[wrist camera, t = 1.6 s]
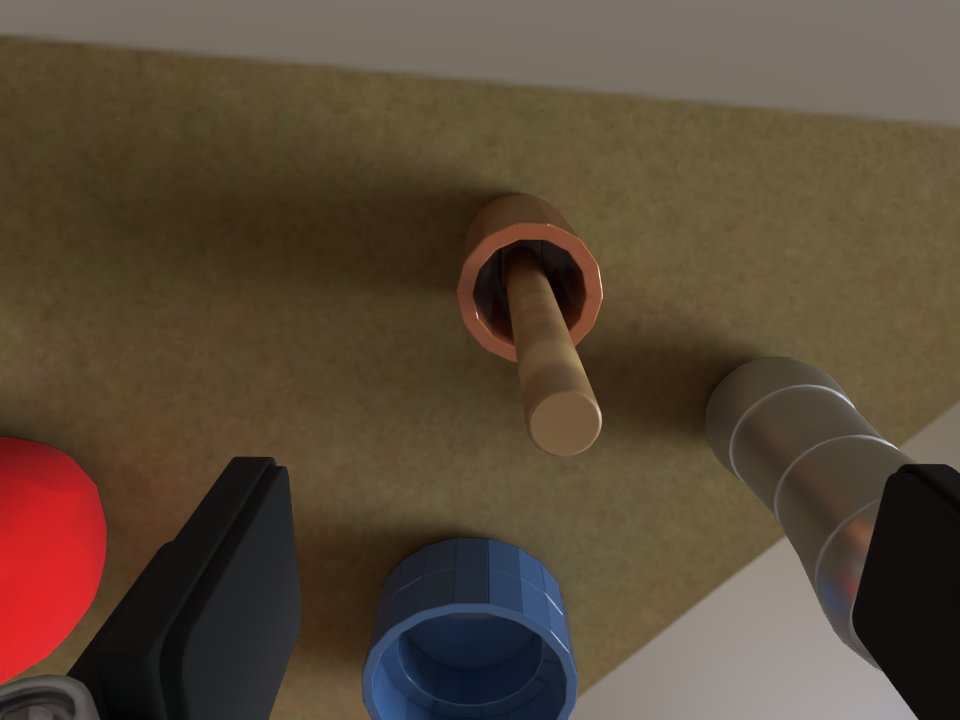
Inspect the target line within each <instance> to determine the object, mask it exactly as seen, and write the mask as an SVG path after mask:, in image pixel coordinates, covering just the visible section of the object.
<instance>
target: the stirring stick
mask: <svg viewBox="0 0 960 720" xmlns="http://www.w3.org/2000/svg"><path fill="white" fill-rule="evenodd" d="M542 248H543V240H517V241H515V242H513V243H510V244H508V245H506V246H504V247H502V248H499V279H500V286H501V287H502V288H507V295H508V302H509V309H510V316H511V323H512V330H513V337H514V343H515V350H516V357H517V364H518V371H519V378H520V385H521V392H522V398H523V405H524V412H525V419H526V426H527V431H528V434H529V436H530V438H531V440H532V441H533V443H534V444H535V445H536V446H537V447H538V448H540V449H541V450H543V451H544V452H546V453H549V454H552V455H556V456H570V455H574V454H577V453H580V452H582V451H584V450H585V449H587V448H588V447H589V446H590V445H591V444H592V443H593V442H594V441H595V440H596V438H597V436H598V435H599V432H600V430H601V425H602V415H601V411H600V408H599V406H598V403H597V401H596V398H595V396H594V393H593V391H592V388H591V386H590V383H589V381H588V378H587V376H586V373H585V371H584V368H583V366H582V364H581V361H580V359H579V356H578V354H577V351H576V349H575V346H574V344H573V341H572V339H571V336H570V334H569V331H568V329H567V326H566V324H565V321H564V319H563V317H562V314H561V312H560V309H559V307H558V304H557V302H556V299H555V297H554V294H553V292H552V289H551V287H550V284H549V282H548V279H547V277H546V274H545V272H544V269H543V267H542Z"/></svg>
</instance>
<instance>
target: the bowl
mask: <svg viewBox="0 0 960 720" xmlns="http://www.w3.org/2000/svg"><path fill="white" fill-rule="evenodd" d="M577 684H578V676H577V670H576V664H575V658H574V652H573V646H572V641H571V635H570V629H569V623H568V617H567V611H566V606H565V603H564V600H563V596H562V593H561V590H560V587H559V584H558V582H557V581H556V580H555V579H554V577H553V576H552V575H551V574H550V572H549V571H548V570H547V569H546V568H545V566H544V565H543V564H542V563H541V562H540V561H538V560H537V559H535V558H534V557H532V556H531V555H529V554H527V553H526V552H524V551H523V550H521V549H520V548H518V547H516V546H513V545H510V544H506V543H503V542H499V541H496V540H492V539H489V538H488V539H487V538H454V539H450V540H446V541H442V542H439V543H435V544H431V545H428V546H426V547H424V548H422V549H421V550H419V551H417V552H416V553H414V554H412V555H411V556H409V557H407V558H406V559H404V560H403V561H401V562H400V564H399V565H398V566H397V567H396V568H395V569H394V571H393V572H392V573H391V574H390V575H389V576H388V578H387V579H386V580H385V582H384V585H383V588H382V590H381V593H380V596H379V599H378V602H377V605H376V610H375V615H374V619H373V624H372V629H371V633H370V638H369V642H368V647H367V652H366V656H365V661H364V666H363V670H362V693H363V702H364V704H365V706H366V708H367V711H368V713H369V715H370V717H371V719H372V720H568V718H569V716H570V714H571V712H572V710H573V709H574V707H575V704H576V696H577Z"/></svg>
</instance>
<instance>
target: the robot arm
mask: <svg viewBox="0 0 960 720" xmlns="http://www.w3.org/2000/svg"><path fill="white" fill-rule="evenodd" d="M300 622H301V599H300V589H299V578H298V568H297V557H296V547H295V537H294V526H293V516H292V505H291V495H290V485H289V475H288V471H287V468H286V467H285V466H277V465H276V462H275V459H274V458H273V457H234V458H233V459H232V460H231V461H230V463H229V464H228V465H227V467H226V468H225V470H224V471H223V472H222V474H221V475H220V476H219V478H218V479H217V481H216V482H215V483H214V485H213V486H212V488H211V489H210V490H209V492H208V493H207V495H206V496H205V497H204V499H203V500H202V502H201V503H200V504H199V506H198V507H197V508H196V510H195V511H194V513H193V514H192V515H191V517H190V518H189V520H188V521H187V522H186V524H185V525H184V527H183V528H182V529H181V531H180V532H179V534H178V535H177V536H176V538H175V539H174V540H173V541H171V542H168V543H165V544H164V545H163V546H162V547H161V548H160V549H159V550H158V551H157V553H156V554H155V555H154V557H153V558H152V560H151V561H150V562H149V564H148V565H147V566H146V568H145V569H144V570H143V572H142V573H141V574H140V576H139V577H138V579H137V580H136V581H135V583H134V584H133V585H132V587H131V588H130V589H129V591H128V592H127V593H126V595H125V596H124V598H123V599H122V600H121V602H120V603H119V604H118V606H117V607H116V608H115V610H114V611H113V612H112V614H111V615H110V616H109V618H108V619H107V621H106V622H105V623H104V625H103V626H102V627H101V629H100V630H99V631H98V633H97V634H96V635H95V637H94V638H93V640H92V641H91V642H90V644H89V645H88V646H87V648H86V649H85V650H84V652H83V653H82V654H81V656H80V657H79V658H78V660H77V661H76V663H75V664H74V665H73V667H72V668H71V669H70V671H69V672H68V673H67V675H66V676H61V675H42V676H36V677H29V678H24V679H21V680H18V681H15V682H13V683H10V684H7V685H4V686H1V687H0V720H268V719H269V716H270V713H271V710H272V707H273V705H274V702H275V699H276V696H277V693H278V690H279V687H280V684H281V681H282V679H283V676H284V673H285V670H286V667H287V664H288V661H289V658H290V655H291V653H292V650H293V647H294V644H295V641H296V638H297V635H298V632H299V628H300ZM852 623H853V627H854V630H855V633H856V635H857V636H858V638H859V640H860V641H861V642H862V644H863V645H864V646H865V648H866V649H867V650H868V652H869V653H870V655H871V656H872V657H873V659H874V660H875V661H876V663H877V664H878V665H879V667H880V668H881V669H882V671H883V672H884V673H885V675H886V676H887V677H888V679H889V680H890V682H891V683H892V684H893V686H894V687H895V688H896V690H897V691H898V692H899V694H900V695H901V696H902V698H903V699H904V701H905V702H906V703H907V705H908V706H909V707H910V709H911V710H912V711H913V713H914V714H915V716H916V717H917V718H918V720H960V473H958V472H957V471H956V470H955V469H953V468H952V467H949V466H948V465H945V464H905V465H902V466H901V467H900V468H899V469H898V470H897V472H896V473H893V474H891V475H890V476H889V477H888V478H887V481H886V483H885V487H884V491H883V495H882V499H881V503H880V507H879V510H878V514H877V518H876V522H875V526H874V530H873V534H872V537H871V541H870V545H869V549H868V553H867V557H866V561H865V564H864V568H863V572H862V576H861V580H860V584H859V588H858V592H857V595H856V599H855V603H854V607H853V611H852Z"/></svg>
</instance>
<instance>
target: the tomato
mask: <svg viewBox="0 0 960 720" xmlns="http://www.w3.org/2000/svg"><path fill="white" fill-rule="evenodd" d="M106 535H107V526H106V522H105V518H104V514H103V510H102V506H101V502H100V498H99V494H98V490H97V486H96V485H95V484H94V482H93V481H92V480H91V479H90V478H89V477H88V476H87V474H86V473H85V472H84V471H83V470H82V469H81V467H80V466H79V465H78V464H77V463H76V462H75V461H74V459H73V458H72V457H71V456H69V455H67V454H65V453H63V452H61V451H60V450H58V449H56V448H54V447H52V446H50V445H49V444H45V443H39V442H33V441H28V440H22V439H17V438H11V437H0V684H2V683H4V682H6V681H7V680H9V679H11V678H12V677H14V676H16V675H17V674H19V673H21V672H22V671H24V670H26V669H27V668H29V667H31V666H32V665H34V664H36V663H37V662H39V661H41V660H42V659H44V658H46V657H47V656H48V655H49V654H50V653H51V652H52V651H53V650H54V649H55V648H56V647H57V646H58V645H59V644H60V643H61V642H62V641H63V640H64V639H65V638H66V637H67V636H68V635H69V633H70V632H71V631H72V630H73V628H74V627H75V626H76V624H77V623H78V622H79V620H80V619H81V618H82V616H83V615H84V614H85V612H86V611H87V609H88V608H89V606H90V605H91V603H92V601H93V600H94V598H95V596H96V593H97V590H98V587H99V584H100V581H101V576H102V572H103V567H104V562H105V558H106Z"/></svg>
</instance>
